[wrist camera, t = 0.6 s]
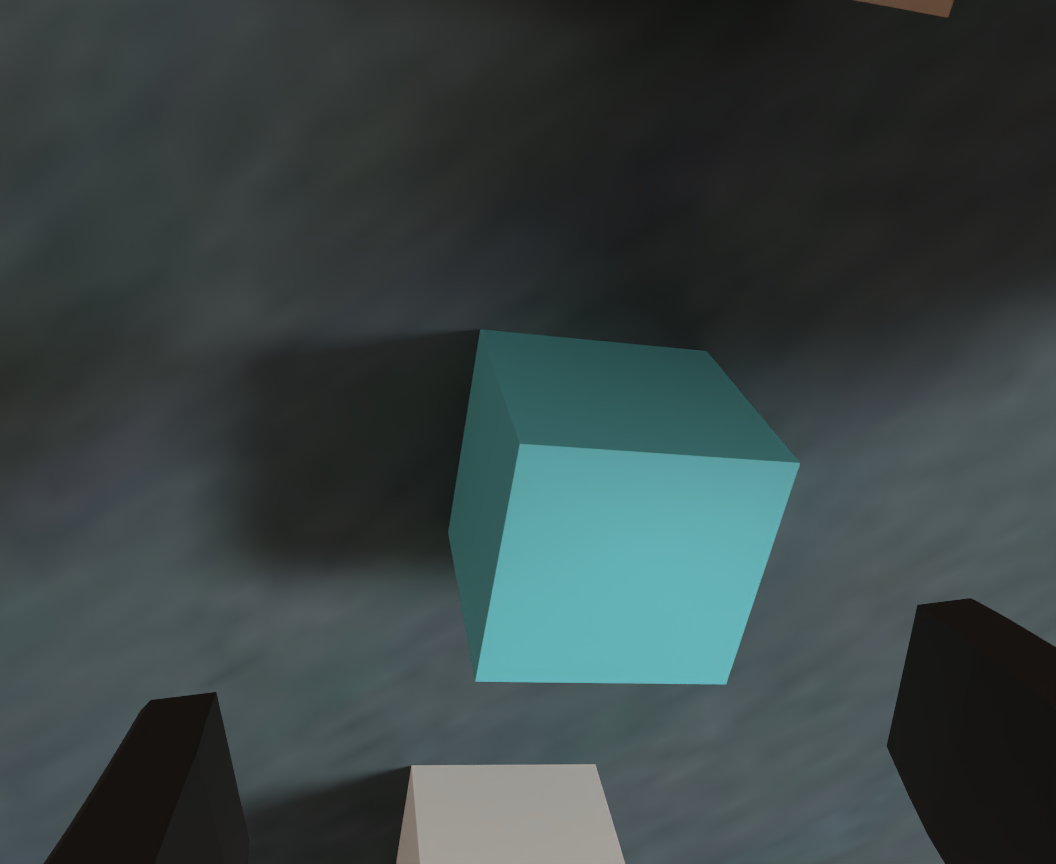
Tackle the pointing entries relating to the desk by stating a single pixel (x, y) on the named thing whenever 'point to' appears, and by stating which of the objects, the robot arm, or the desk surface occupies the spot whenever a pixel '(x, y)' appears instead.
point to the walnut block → (917, 5)
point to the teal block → (610, 512)
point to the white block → (507, 816)
